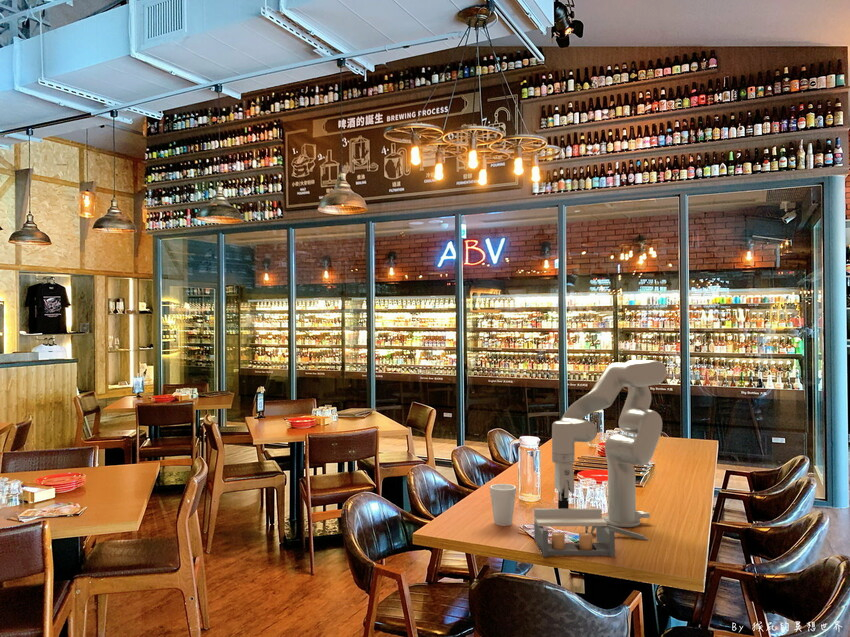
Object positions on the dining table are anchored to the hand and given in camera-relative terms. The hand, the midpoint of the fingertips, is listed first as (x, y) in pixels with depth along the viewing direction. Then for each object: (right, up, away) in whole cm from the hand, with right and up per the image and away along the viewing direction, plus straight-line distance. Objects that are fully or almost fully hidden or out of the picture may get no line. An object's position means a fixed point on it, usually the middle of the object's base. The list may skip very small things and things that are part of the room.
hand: (563, 511), depth 214 cm
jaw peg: (+3, -7, -17) cm, 19 cm away
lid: (0, -1, -9) cm, 9 cm away
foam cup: (-19, -8, +13) cm, 25 cm away
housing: (0, -7, -13) cm, 15 cm away
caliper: (+18, -8, -1) cm, 19 cm away
